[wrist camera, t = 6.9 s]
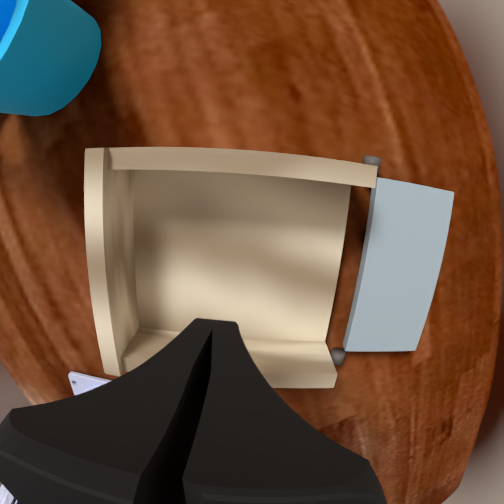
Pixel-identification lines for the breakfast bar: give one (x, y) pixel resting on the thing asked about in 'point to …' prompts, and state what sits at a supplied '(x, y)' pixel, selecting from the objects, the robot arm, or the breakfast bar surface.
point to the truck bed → (218, 252)
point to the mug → (44, 54)
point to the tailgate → (398, 266)
